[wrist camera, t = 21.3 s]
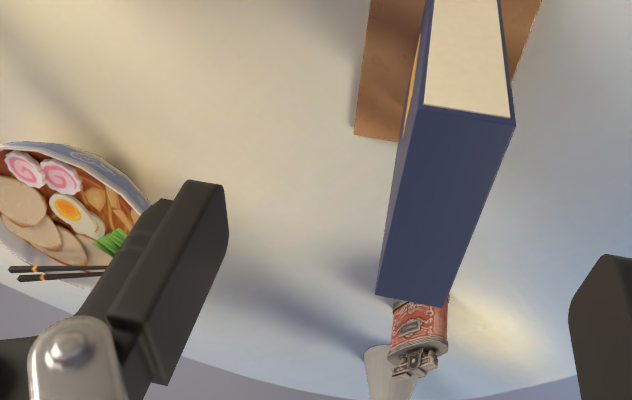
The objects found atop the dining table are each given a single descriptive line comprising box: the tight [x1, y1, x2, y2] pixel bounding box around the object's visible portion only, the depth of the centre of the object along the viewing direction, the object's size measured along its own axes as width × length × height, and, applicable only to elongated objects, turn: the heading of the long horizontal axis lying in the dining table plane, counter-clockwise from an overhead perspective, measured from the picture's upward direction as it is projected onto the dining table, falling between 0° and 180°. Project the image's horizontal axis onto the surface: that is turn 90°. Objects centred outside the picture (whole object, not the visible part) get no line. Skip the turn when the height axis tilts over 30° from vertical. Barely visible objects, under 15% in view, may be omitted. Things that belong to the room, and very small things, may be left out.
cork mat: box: [354, 0, 542, 142], centre depth 39 cm, size 20×12×1 cm, turn 177°
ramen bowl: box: [0, 141, 151, 290], centre depth 58 cm, size 25×23×8 cm
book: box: [375, 0, 516, 308], centre depth 32 cm, size 20×4×13 cm
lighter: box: [387, 294, 450, 381], centre depth 59 cm, size 8×3×10 cm, turn 138°
